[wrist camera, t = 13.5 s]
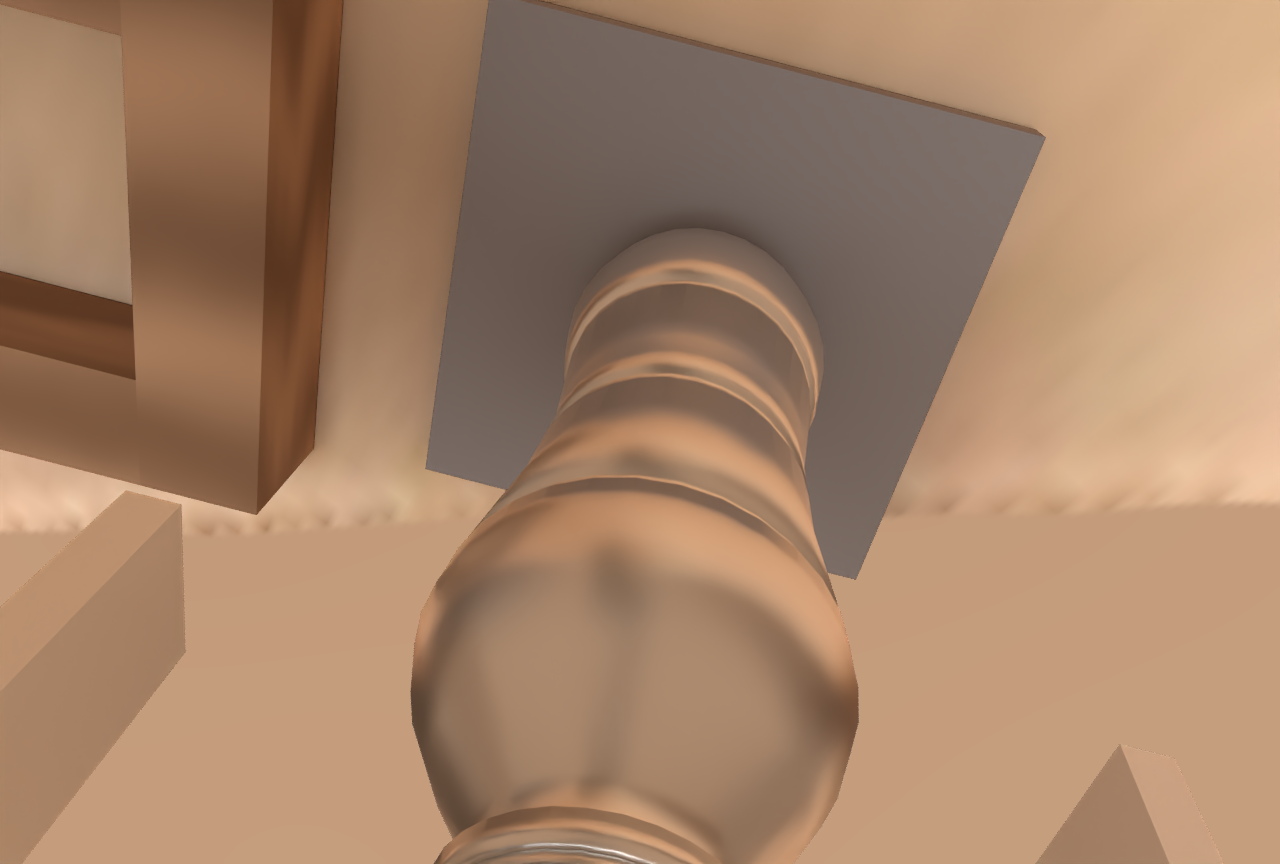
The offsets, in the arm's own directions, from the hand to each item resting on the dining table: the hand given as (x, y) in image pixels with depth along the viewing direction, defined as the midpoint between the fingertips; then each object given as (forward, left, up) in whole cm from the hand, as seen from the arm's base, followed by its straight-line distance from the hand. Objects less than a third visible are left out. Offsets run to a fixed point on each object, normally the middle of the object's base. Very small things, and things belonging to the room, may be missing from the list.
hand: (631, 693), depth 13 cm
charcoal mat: (0, 0, -16) cm, 16 cm away
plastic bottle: (0, 0, -15) cm, 15 cm away
